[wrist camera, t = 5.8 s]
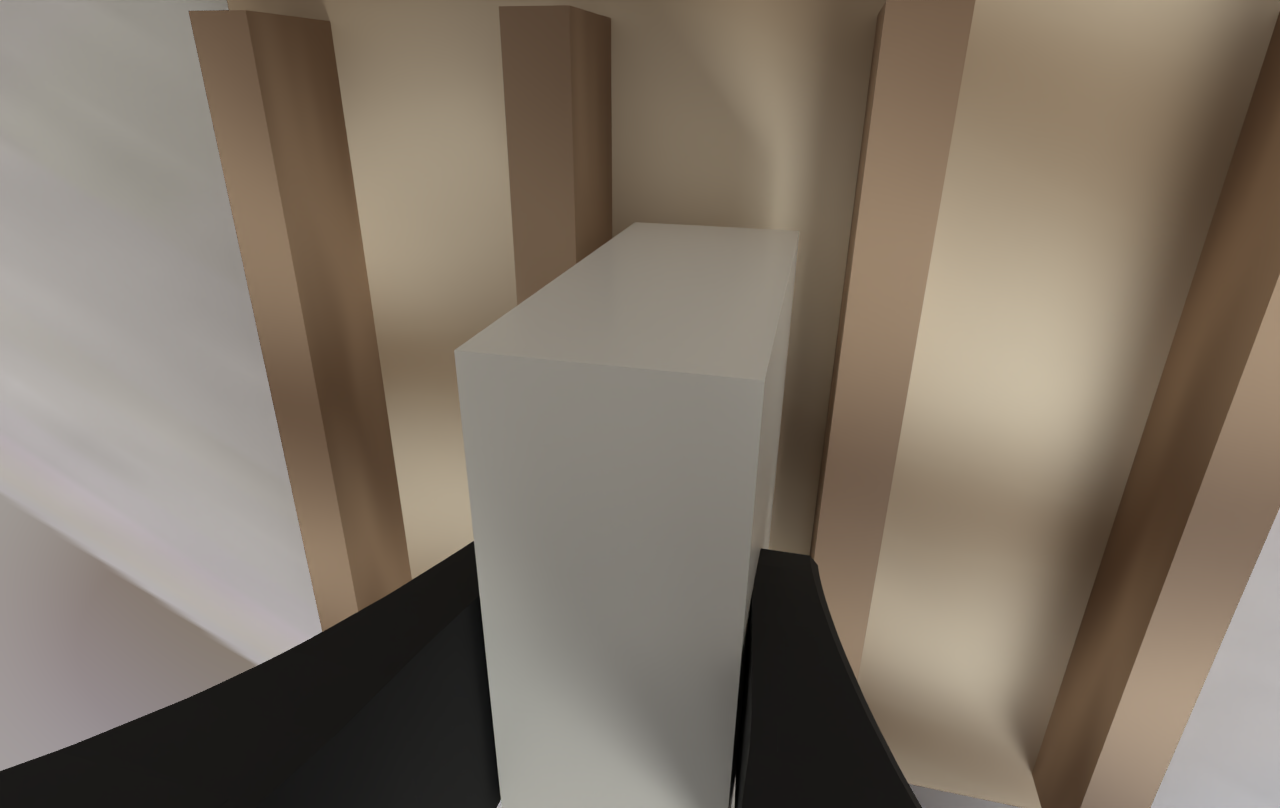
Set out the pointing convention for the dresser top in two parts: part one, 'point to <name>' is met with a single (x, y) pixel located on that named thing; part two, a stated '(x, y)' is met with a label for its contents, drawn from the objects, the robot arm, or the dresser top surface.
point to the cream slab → (627, 511)
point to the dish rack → (820, 313)
